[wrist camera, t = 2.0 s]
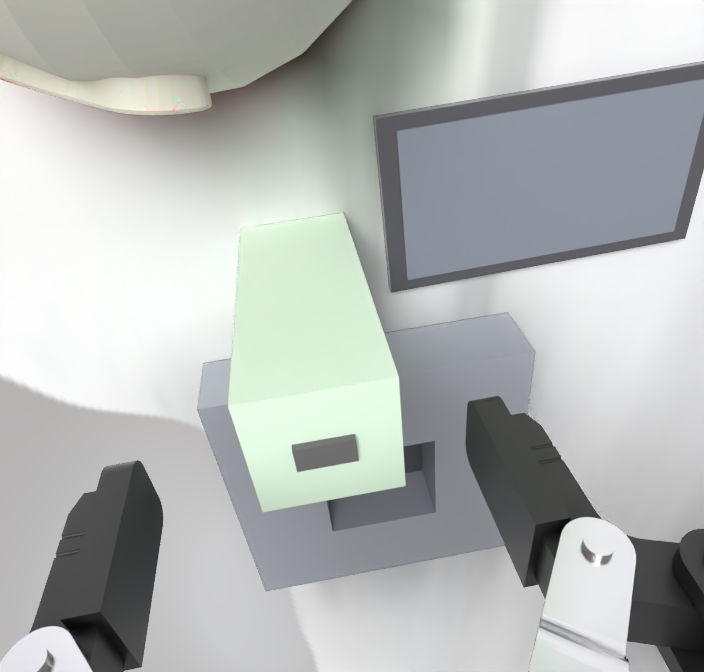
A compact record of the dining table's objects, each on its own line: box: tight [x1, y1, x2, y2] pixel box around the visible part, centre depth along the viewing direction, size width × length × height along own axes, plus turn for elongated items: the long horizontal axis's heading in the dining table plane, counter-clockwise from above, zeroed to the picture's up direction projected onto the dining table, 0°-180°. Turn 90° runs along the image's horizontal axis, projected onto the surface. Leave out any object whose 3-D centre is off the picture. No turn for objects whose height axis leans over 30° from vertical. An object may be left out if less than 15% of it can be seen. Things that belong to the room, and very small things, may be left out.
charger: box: [228, 213, 406, 512], centre depth 17 cm, size 4×4×10 cm
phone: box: [373, 61, 704, 292], centre depth 21 cm, size 7×13×1 cm, turn 97°
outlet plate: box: [197, 313, 535, 591], centre depth 27 cm, size 14×14×3 cm
